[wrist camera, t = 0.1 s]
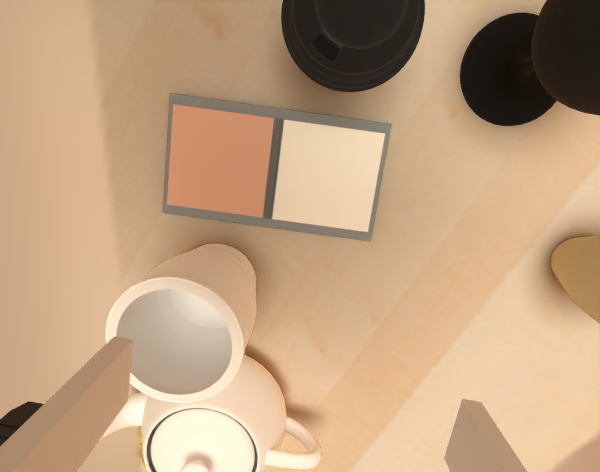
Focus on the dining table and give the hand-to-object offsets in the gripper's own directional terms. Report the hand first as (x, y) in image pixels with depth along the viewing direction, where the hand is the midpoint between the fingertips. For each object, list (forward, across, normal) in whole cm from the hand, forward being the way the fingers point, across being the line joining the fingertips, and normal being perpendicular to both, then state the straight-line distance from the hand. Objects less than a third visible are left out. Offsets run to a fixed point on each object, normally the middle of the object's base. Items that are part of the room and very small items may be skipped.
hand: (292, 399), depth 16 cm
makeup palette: (+28, -4, +7) cm, 30 cm away
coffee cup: (+29, 0, +18) cm, 34 cm away
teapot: (+29, -7, -21) cm, 36 cm away
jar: (+29, -8, -6) cm, 31 cm away
